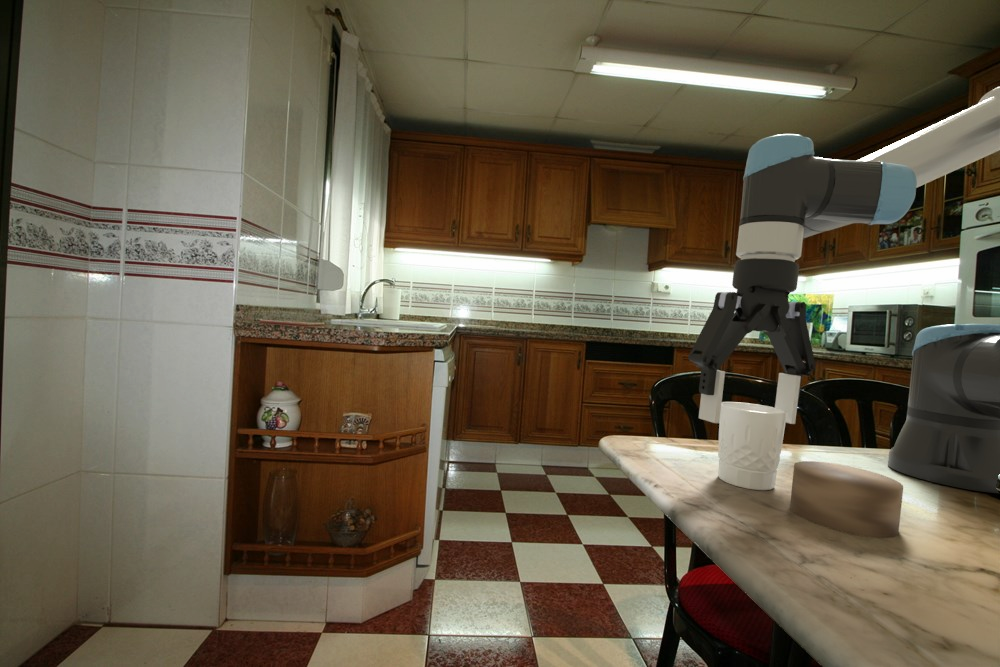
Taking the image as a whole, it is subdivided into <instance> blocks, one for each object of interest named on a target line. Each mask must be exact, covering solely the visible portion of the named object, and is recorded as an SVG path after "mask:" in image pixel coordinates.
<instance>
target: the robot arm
mask: <svg viewBox="0 0 1000 667" xmlns="http://www.w3.org/2000/svg"><path fill="white" fill-rule="evenodd" d="M814 147H815V146H814V141H813V140H812V139H811V138H810V137H807V136H803V135H801V134H796V133H783V134H774V135H771V136H767V137H763V138H761V139H759V140H757V141H756V142H755V143H754V144H752V145H751V147H750V148H749V150H748V154H747V159H746V165H745V168H744V175H743V177H742V178H743V179H742V181H743V186H742V196H741V197H742V199H741V209H740V218H739V219H740V220H739V226H738V234H737V237H738V238H737V243H736V251H735V255H736V257H737V258H739V259H738V260H736V262H735V263H734V267H733V275H732V287H733V288H734V289H735V290H736V292H735V291H732V292H731V291H729V292H728V291H719V292H717V293H716V294H715V297H714V302H713V306H712V309H711V312H710V313H709V316H708V317H707V320H706V321H705V323H704V326H703V328H701V331H700V333H699V334H698V337H697V339H696V341H695V343H694V344H693V347H692V348H691V351H690V352H689V353H688V360H689V362H691V363H694V366H695V367H697V368H699V369H700V375H699V376H700V377H699V383H698V384H699V385H698V392H699V393H700V401H699V402H700V403H699V410H698V419H700V420H703V421H706V422H710V423H712V424H719V421H720V412H721V403H722V402H723V394H724V393H723V391H724V384H725V376H726V371H724V370H720V369H721V367H723V365H724V364H725V363H726V362H727V360H728V359H729V357H730V356H731V355H732V353H733V352H734V351H735V349H736V348H737V347H738V346H739V345H740V343H741V342H742V341H743V339H744V338H745V337H746V336H747V334H750V333H752V332H762V333H763V334H764V335H766V336H767V337H768V339H769V341H770V343H771V345H772V347H773V349H774V352H775V354H776V356H777V358H778V360H779V362H780V365H781V367H782V369H783V371H784V372H779V373H778V378H777V387H776V396H775V403H774V408H778V409H782V410H784V411H786V412H787V416H786V422H785V424H790V425H795V424H796V421H797V418H796V417H797V411H798V405H799V404H798V402H799V398H800V396H801V389H802V388H801V387H802V380H803V377H810V376H811V375H812V372H815V370H816V368H817V367H816V361H815V357H814V352H813V348H812V342H811V338H810V337H811V336H810V333H809V328H808V324H807V323H808V322H807V321H806V320H807V319H806V317H807V304H806V302H805V301H789V295H790V293H793V292H795V291H796V290H797V288H798V279H799V273H800V272H799V271H800V265H799V264H798V262H796V260H798V259H800V258H801V257H802V250H803V243H804V242H803V240H805V239H806V238H808V237H812V236H814V235H817V234H821V233H824V232H828V231H831V230H836V229H839V228H842V227H846V226H849V225H852V224H866V225H868V226H872V225H891V224H894V223H896V222H898V221H899V220H901V219H902V218H903V217H904V216H905V215H906V214H907V213H908V211H909V210H910V209H911V207H912V205H913V203H914V201H915V199H916V194H917V193H916V192H917V188H919V187H921V186H923V185H926V184H928V183H931V182H933V181H934V180H936V179H939V178H941V177H944V176H946V175H948V174H951V173H952V172H954V171H957V170H959V169H961V168H963V167H965V166H968V165H970V164H972V163H974V162H976V161H979V160H981V159H983V158H986V157H988V156H990V155H992V154H994V153H997V152H999V151H1000V86H997V87H995V88H994V89H993V88H992V90H990V91H988V92H986V93H985V94H984V95H983V96H981V98H980V100H979V101H978V102H977V103H976V104H975V105H972V106H971V107H969V108H967V109H964V110H962V111H960V112H958V113H956V114H954V115H951V116H949V117H947V118H946V119H943V120H941V121H939V122H937V123H934V124H932V125H930V126H928V127H926V128H924V129H922V130H919V131H917V132H915V133H914V134H911V135H909V136H907V137H905V138H902V139H901V140H898V141H896V142H894V143H892V144H890V145H888V146H885V147H883V148H882V149H879V150H877V151H875V152H873V153H870V154H868V155H866V156H864V157H861V158H860V159H857V160H851V159H837V158H836V159H835V158H834V159H832V158H823V157H819V156H814V155H815V151H814V150H815V148H814ZM911 351H912V352H911V355H912V360H911V361H912V362H911V371H910V372H911V373H910V383H909V391H908V392H909V393H908V401H907V411H906V420H905V422H904V424H903V426H902V428H901V430H900V432H899V434H898V436H897V439H895V440H896V441H895V443H894V446H893V447H891V449H889V451H888V459H887V465H888V467H889V468H891V469H893V470H895V471H897V472H898V473H902V474H904V475H907V476H911V477H914V478H916V479H920V480H923V481H927V482H932V483H935V484H941V485H945V486H950V487H953V488H959V489H965V490H969V491H977V492H983V493H989V494H990V493H992V494H1000V493H999V492H998V490H997V489H996V484H997V480H998V475H999V474H1000V324H995V323H994V324H993V323H964V324H962V323H961V324H954V323H953V324H941V325H933V326H930V327H925V328H923V329H921V330H920V331H919V332H918V333H917V334H916V336H915V340H914V345H913V349H912V350H911Z"/></svg>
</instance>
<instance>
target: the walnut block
mask: <svg viewBox="0 0 1000 667" xmlns="http://www.w3.org/2000/svg"><path fill="white" fill-rule="evenodd" d="M792 471H793V472H792V473H793V474H792V482H791V484H792V485H791V493H790V502H789V509H790V510H791V511H792V512H793V513H794V514H795V515H797V516H799V517H801V518H802V519H805V521H808V522H810V523H813V524H815V525H818V526H821V527H822V528H827V529H830V530H833V531H837V532H840V533H844V534H848V535H854V536H859V537H865V538H873V539H875V538H876V539H880V538H881V539H887V538H893V537H896V536H898V535H899V530H900V522H901V511H902V503H903V494H904V485H903V484H902V483H901V482H900V481H898V480H895V479H893V478H891V477H888V476H886V475H883V474H880V473H877V472H874V471H871V470H866V469H862V468H859V467H854V466H850V465H845V464H838V463H834V462H833V463H830V462H825V461H812V460H808V461H807V460H806V461H805V460H804V461H797V462H795V463H794V464H793V470H792Z"/></svg>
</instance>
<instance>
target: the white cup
mask: <svg viewBox="0 0 1000 667" xmlns="http://www.w3.org/2000/svg"><path fill="white" fill-rule="evenodd" d="M786 416H787V412H786V411H784V410H782V409H778V408H775V406H774V407H773V406H769V405H765V404H764V405H762V404H759V403H749V402H740V401H739V402H738V401H722V403H721V412H720V421H719V423H718V424H719V425H718V427H719V428H718V448H717V449H718V451H717V452H718V453H717V454H718V468H717V469H718V472H717V473H718V474H717V475H718V478H719V479H720V480H721V481H723V482H724V483H726V484H729V485H732V486H735V487H739V488H743V489H747V490H755V491H756V490H757V491H768V490H769V491H771V490H772V489H775V486H776V480H777V473H778V471H777V469H778V468H779V464H780V460H781V459H780V455H781V453H782V448H783V443H784V441H783V440H784V434H785V428H786Z"/></svg>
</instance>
